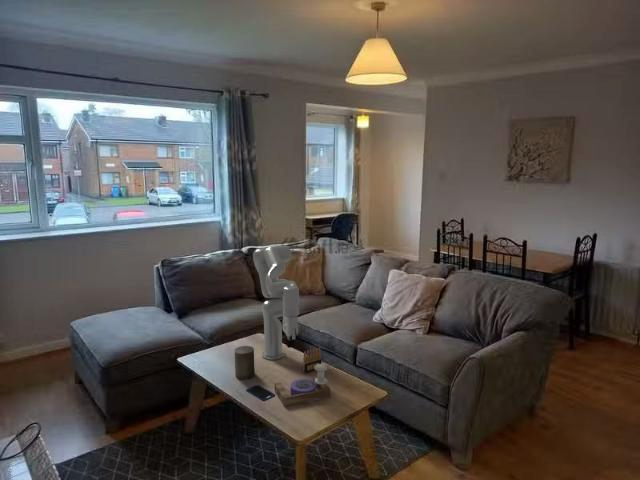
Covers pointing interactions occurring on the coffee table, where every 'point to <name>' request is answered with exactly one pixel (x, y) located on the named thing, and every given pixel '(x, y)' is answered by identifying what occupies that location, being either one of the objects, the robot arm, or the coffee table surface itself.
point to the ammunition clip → (311, 360)
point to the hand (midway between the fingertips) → (290, 346)
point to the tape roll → (302, 386)
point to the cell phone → (260, 392)
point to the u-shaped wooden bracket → (288, 400)
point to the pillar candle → (244, 362)
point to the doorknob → (320, 374)
